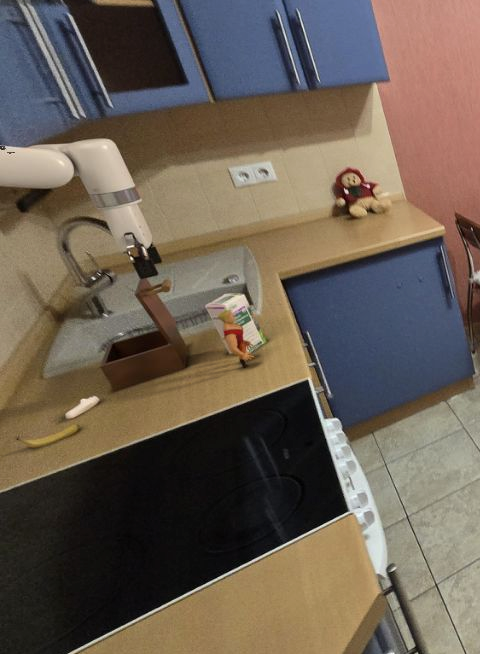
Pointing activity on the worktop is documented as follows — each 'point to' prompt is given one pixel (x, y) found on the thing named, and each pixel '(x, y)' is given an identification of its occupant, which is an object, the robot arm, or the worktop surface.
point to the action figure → (235, 337)
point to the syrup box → (237, 318)
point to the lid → (156, 306)
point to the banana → (49, 437)
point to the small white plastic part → (82, 407)
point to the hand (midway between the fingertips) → (151, 270)
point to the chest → (143, 358)
